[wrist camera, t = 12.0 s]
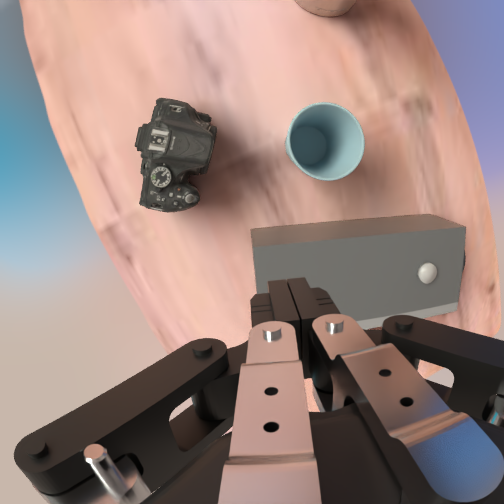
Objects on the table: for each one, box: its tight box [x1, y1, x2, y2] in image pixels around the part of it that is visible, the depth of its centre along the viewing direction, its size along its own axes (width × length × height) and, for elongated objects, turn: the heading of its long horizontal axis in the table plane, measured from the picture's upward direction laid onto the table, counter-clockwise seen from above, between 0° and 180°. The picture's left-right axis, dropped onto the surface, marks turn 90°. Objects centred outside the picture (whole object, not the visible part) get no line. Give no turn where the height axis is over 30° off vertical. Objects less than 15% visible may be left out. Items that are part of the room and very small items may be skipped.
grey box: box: [251, 214, 466, 329], centre depth 38 cm, size 11×27×10 cm, turn 95°
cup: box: [285, 102, 365, 181], centre depth 34 cm, size 8×8×10 cm
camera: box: [135, 98, 217, 212], centre depth 34 cm, size 13×10×10 cm
